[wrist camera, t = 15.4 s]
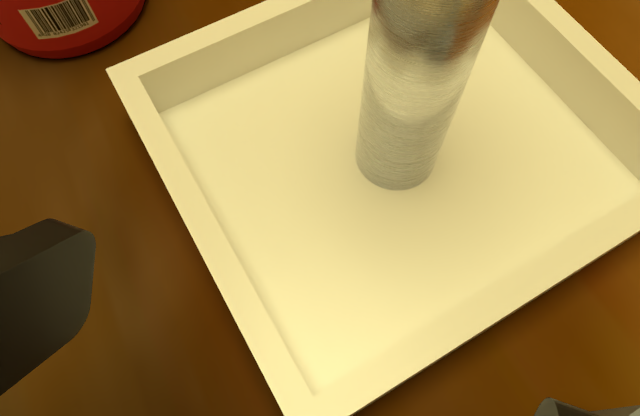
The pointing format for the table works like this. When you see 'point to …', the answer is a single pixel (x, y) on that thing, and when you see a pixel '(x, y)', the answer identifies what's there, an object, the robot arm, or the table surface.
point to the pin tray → (378, 203)
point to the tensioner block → (620, 411)
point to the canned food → (65, 25)
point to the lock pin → (415, 83)
